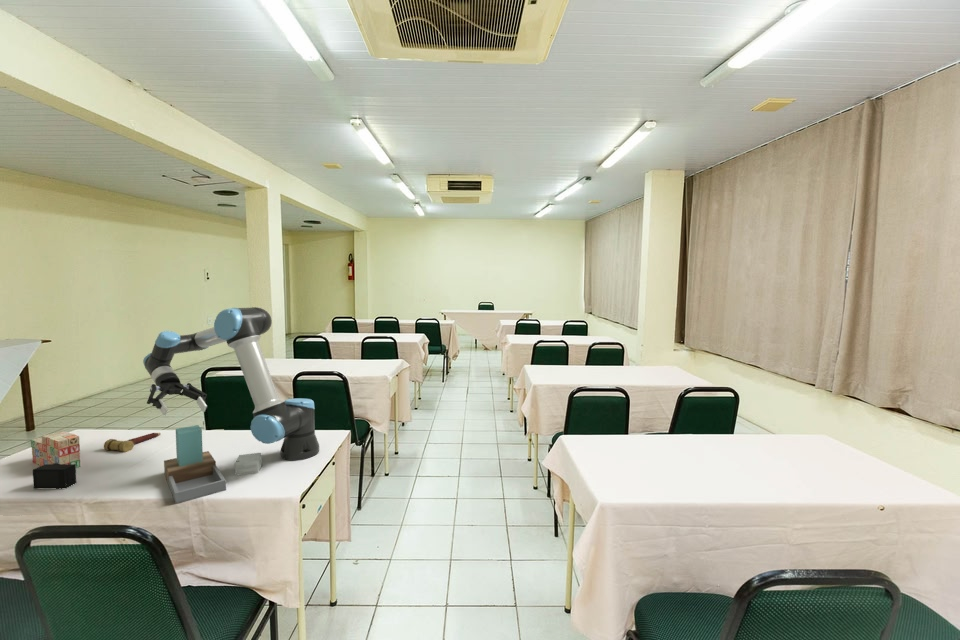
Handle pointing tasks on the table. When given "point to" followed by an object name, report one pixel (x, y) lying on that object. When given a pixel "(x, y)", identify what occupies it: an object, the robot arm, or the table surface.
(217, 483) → the bin
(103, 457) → the table surface
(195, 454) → the teal block
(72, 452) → the stack of blocks
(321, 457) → the table surface
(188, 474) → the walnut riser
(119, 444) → the gavel
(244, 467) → the small box
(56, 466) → the digital camera
